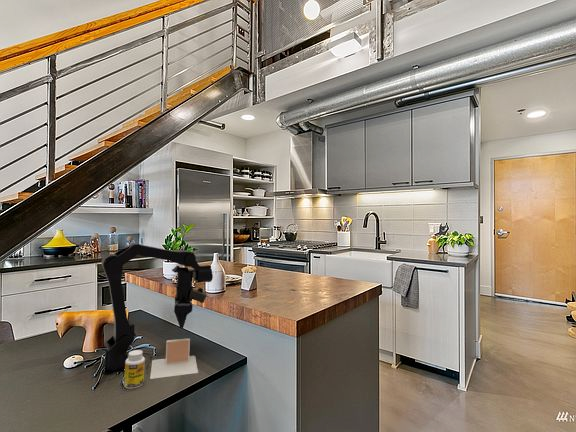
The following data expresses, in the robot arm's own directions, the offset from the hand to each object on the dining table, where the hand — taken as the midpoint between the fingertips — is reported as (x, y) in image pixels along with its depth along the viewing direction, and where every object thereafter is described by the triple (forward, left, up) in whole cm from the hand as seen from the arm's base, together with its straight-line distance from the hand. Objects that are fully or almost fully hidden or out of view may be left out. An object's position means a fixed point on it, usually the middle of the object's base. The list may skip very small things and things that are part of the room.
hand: (181, 324), depth 120 cm
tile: (-1, -7, -12) cm, 13 cm away
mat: (-2, -10, -12) cm, 15 cm away
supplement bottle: (-14, -19, -12) cm, 26 cm away
